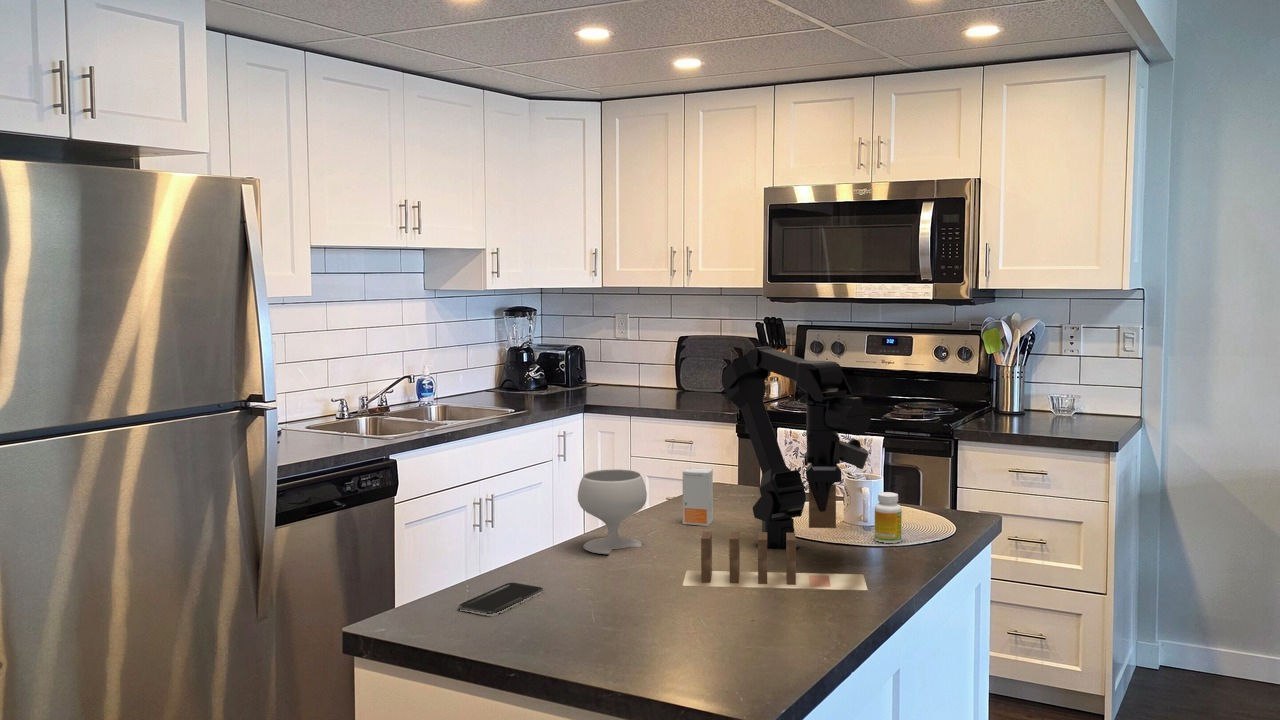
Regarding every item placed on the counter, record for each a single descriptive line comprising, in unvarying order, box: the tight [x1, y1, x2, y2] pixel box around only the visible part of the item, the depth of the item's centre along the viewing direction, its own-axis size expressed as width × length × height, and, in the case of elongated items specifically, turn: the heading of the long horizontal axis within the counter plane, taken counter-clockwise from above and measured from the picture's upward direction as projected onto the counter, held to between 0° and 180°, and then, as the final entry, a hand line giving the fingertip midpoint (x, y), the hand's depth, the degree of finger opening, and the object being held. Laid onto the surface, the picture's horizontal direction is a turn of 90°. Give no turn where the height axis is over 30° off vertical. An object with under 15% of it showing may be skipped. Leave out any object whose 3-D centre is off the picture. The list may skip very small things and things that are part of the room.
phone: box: [458, 582, 544, 614], centre depth 182 cm, size 8×1×15 cm
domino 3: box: [757, 531, 768, 584], centre depth 188 cm, size 2×5×8 cm, turn 173°
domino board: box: [682, 569, 869, 591], centre depth 188 cm, size 32×9×1 cm, turn 83°
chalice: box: [577, 468, 648, 555], centre depth 213 cm, size 14×14×15 cm
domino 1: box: [700, 530, 713, 583], centre depth 189 cm, size 2×5×8 cm, turn 173°
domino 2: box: [728, 531, 741, 583], centre depth 188 cm, size 2×5×8 cm, turn 172°
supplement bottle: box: [873, 491, 903, 544], centre depth 216 cm, size 5×5×10 cm
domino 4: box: [785, 532, 797, 585], centre depth 187 cm, size 2×5×8 cm, turn 173°
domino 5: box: [808, 484, 837, 529], centre depth 199 cm, size 2×5×8 cm, turn 83°
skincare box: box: [682, 467, 714, 527], centre depth 232 cm, size 6×4×12 cm
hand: (822, 510), depth 199 cm, fingers closed on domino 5, 2 cm apart
